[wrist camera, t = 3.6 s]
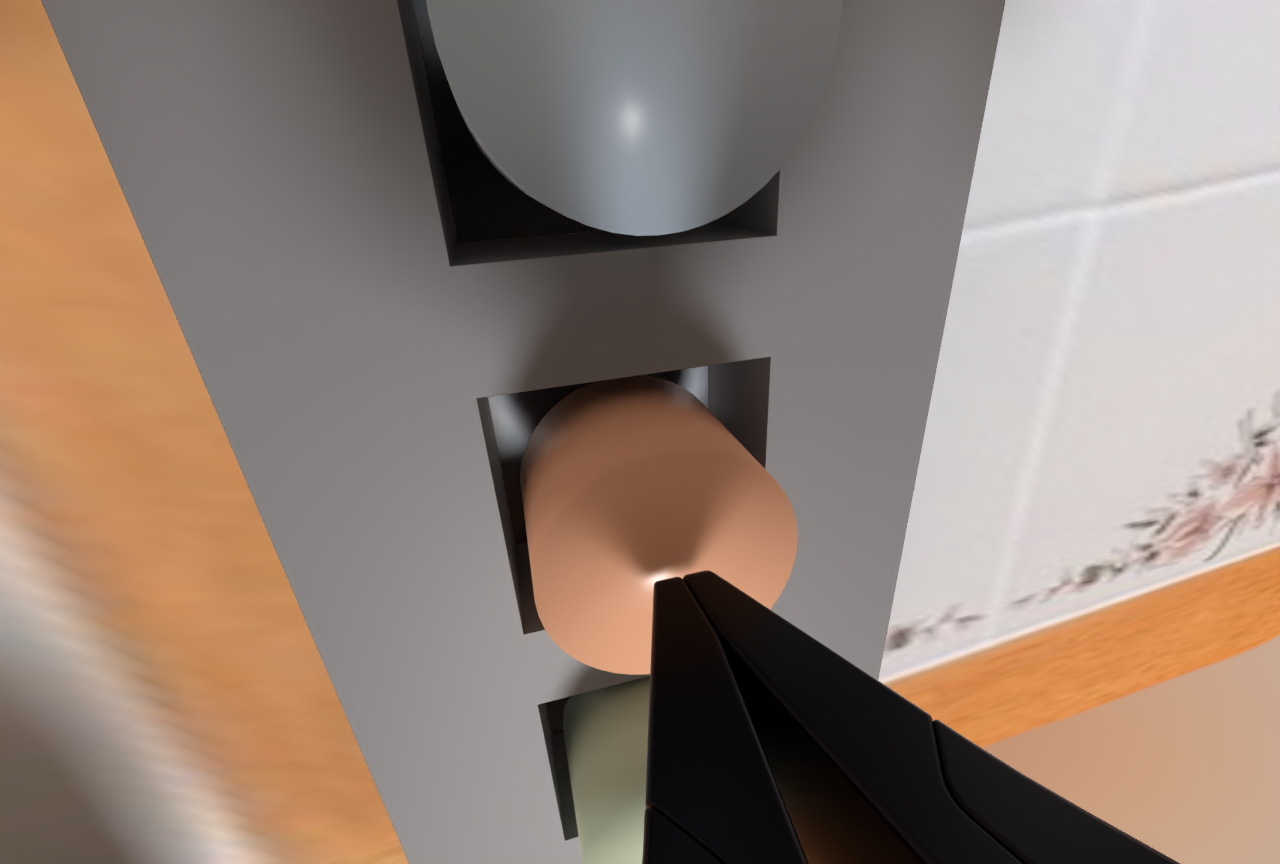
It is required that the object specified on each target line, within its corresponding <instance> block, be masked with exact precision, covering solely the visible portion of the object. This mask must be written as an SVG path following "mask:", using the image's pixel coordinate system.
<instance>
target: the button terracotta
mask: <svg viewBox="0 0 1280 864" xmlns="http://www.w3.org/2000/svg"><path fill="white" fill-rule="evenodd" d="M520 481H521V492H522V500H523V508H524V516H525V525H526V533H527V541H528V550H529V558H530V566H531V574H532V583H533V591H534V599H535V605H536V608H537V612H538V616H539V618H540V620H541V622H542V624H543V626H544V628H545V630H546V631H547V633H548V634H549V636H550V637H551V638H552V640H553V641H554V642H555V643H556V644H557V645H558V646H559V647H560V648H561V649H562V650H563V651H565V652H566V653H567V654H569V655H570V656H571V657H573V658H574V659H576V660H578V661H580V662H582V663H584V664H586V665H588V666H591V667H594V668H597V669H599V670H603V671H608V672H612V673H619V674H629V675H645V674H650V666H651V640H652V614H653V589H654V584H655V582H656V581H660V580H664V579H669V578H673V577H680V578H682V579H683V577H684V576H685V575H687V574H691V573H696V572H700V571H705V570H709V571H712V572H714V573H715V574H717V575H718V576H720V577H721V578H723V579H724V580H726V581H728V582H729V583H731V584H732V585H734V586H735V587H737V588H738V589H740V590H741V591H743V592H744V593H746V594H747V595H749V596H750V597H752V598H753V599H755V600H756V601H758V602H759V603H761V604H762V605H764V606H765V607H767V608H769V609H771V608H772V606H773V605H774V604H775V602H776V601H777V599H778V598H779V596H780V594H781V593H782V591H783V589H784V587H785V586H786V583H787V581H788V579H789V576H790V574H791V572H792V568H793V565H794V561H795V557H796V551H797V536H798V531H797V524H796V517H795V514H794V511H793V508H792V505H791V503H790V501H789V499H788V497H787V495H786V493H785V492H784V490H783V489H782V488H781V486H780V485H779V484H778V482H777V481H776V480H775V479H774V478H773V477H772V476H771V475H770V474H769V473H768V472H767V471H766V470H765V469H764V467H763V466H762V465H761V464H760V463H759V462H758V461H757V460H756V459H755V458H754V457H753V456H752V455H751V454H750V453H749V452H748V451H747V450H746V449H745V447H744V446H743V445H742V444H741V443H740V442H739V441H738V440H737V439H736V438H735V437H734V436H733V435H732V434H731V433H730V432H729V431H728V430H727V429H726V428H725V426H724V425H723V424H722V423H721V422H720V421H719V420H718V419H717V418H716V417H715V416H714V415H713V414H712V413H711V412H710V411H709V410H708V409H707V408H706V406H705V405H704V404H703V403H702V402H701V401H700V400H698V399H697V398H696V397H695V396H694V395H693V394H692V393H690V392H689V391H687V390H686V389H684V388H683V387H681V386H679V385H677V384H675V383H673V382H670V381H667V380H664V379H661V378H657V377H652V376H647V375H638V376H630V377H623V378H616V379H609V380H602V381H595V382H592V383H590V384H587V385H585V386H583V387H581V388H579V389H577V390H575V391H574V392H572V393H571V394H569V395H568V396H566V397H564V398H563V399H562V400H561V401H559V402H558V403H557V404H556V405H555V406H553V407H552V408H551V409H550V411H549V412H548V413H547V414H546V415H545V416H544V417H543V418H542V420H541V421H540V422H539V424H538V425H537V427H536V428H535V429H534V431H533V433H532V435H531V437H530V439H529V441H528V443H527V446H526V449H525V451H524V455H523V459H522V464H521V475H520Z"/></svg>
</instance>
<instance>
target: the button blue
mask: <svg viewBox="0 0 1280 864" xmlns="http://www.w3.org/2000/svg"><path fill="white" fill-rule="evenodd" d="M426 4H427V11H428V16H429V20H430V24H431V28H432V33H433V37H434V41H435V45H436V49H437V52H438V54H439V57H440V60H441V63H442V66H443V68H444V71H445V74H446V77H447V80H448V82H449V85H450V88H451V90H452V93H453V96H454V98H455V101H456V103H457V106H458V109H459V111H460V114H461V116H462V118H463V120H464V122H465V124H466V126H467V128H468V130H469V132H470V134H471V136H472V137H473V139H474V140H475V142H476V144H477V145H478V147H479V148H480V150H481V151H482V153H483V154H484V155H485V156H486V158H487V159H488V160H489V161H490V163H491V164H492V165H493V166H494V168H495V169H496V170H497V171H498V172H499V173H500V174H501V175H502V176H503V177H504V178H505V179H507V180H508V181H509V182H510V183H511V184H512V185H514V186H515V187H516V188H518V189H519V190H520V191H521V192H523V193H524V194H526V195H528V196H529V197H531V198H533V199H534V200H536V201H538V202H539V203H541V204H543V205H545V206H547V207H549V208H551V209H553V210H555V211H556V212H558V213H560V214H562V215H564V216H566V217H568V218H571V219H573V220H575V221H578V222H580V223H582V224H585V225H587V226H590V227H593V228H597V229H601V230H604V231H608V232H612V233H618V234H626V235H634V236H651V235H665V234H671V233H677V232H683V231H686V230H689V229H693V228H696V227H699V226H702V225H705V224H707V223H709V222H711V221H714V220H716V219H718V218H720V217H722V216H724V215H726V214H728V213H729V212H731V211H732V210H734V209H735V208H737V207H739V206H740V205H742V204H743V203H745V202H746V201H747V200H748V199H750V198H751V197H752V196H753V195H754V194H756V193H757V192H758V191H759V190H760V189H762V188H763V187H764V186H765V185H766V184H767V183H768V182H769V181H770V180H771V178H772V177H773V176H774V175H775V174H776V173H777V172H778V171H779V170H780V169H781V168H782V166H783V165H784V164H785V162H786V161H787V160H788V158H789V157H790V156H791V154H792V153H793V152H794V150H795V149H796V147H797V146H798V144H799V142H800V141H801V139H802V137H803V136H804V134H805V132H806V130H807V129H808V127H809V125H810V124H811V121H812V119H813V117H814V115H815V113H816V110H817V108H818V106H819V104H820V101H821V99H822V97H823V94H824V91H825V88H826V85H827V82H828V79H829V76H830V73H831V70H832V66H833V61H834V57H835V53H836V48H837V44H838V39H839V32H840V24H841V16H842V9H843V0H426Z"/></svg>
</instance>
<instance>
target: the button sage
mask: <svg viewBox="0 0 1280 864" xmlns="http://www.w3.org/2000/svg"><path fill="white" fill-rule="evenodd" d="M649 692H650V676H648V677H644V678H640V679H636V680H632V681H628V682H624V683H621V684H617V685H613V686H609V687H605V688H601V689H597V690H593V691H589V692H585V693H581V694H577V695H574V696H570V697H569V699H568V701H567V703H566V706H565V709H564V713H563V731H564V738H565V745H566V752H567V759H568V766H569V773H570V780H571V787H572V794H573V801H574V808H575V815H576V822H577V829H578V835H579V842H580V849H581V856H582V863H583V864H642V857H643V838H644V813H645V810H646V805H645V796H646V770H647V744H648V718H649Z"/></svg>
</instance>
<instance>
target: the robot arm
mask: <svg viewBox="0 0 1280 864" xmlns="http://www.w3.org/2000/svg"><path fill="white" fill-rule="evenodd" d="M645 805H646V810H645V813H644V838H643V857H642V864H1180V863H1178V862H1176V861H1174V860H1173V859H1171V858H1169V857H1167V856H1165V855H1164V854H1162V853H1160V852H1158V851H1157V850H1155V849H1153V848H1151V847H1149V846H1148V845H1146V844H1144V843H1142V842H1141V841H1139V840H1137V839H1135V838H1133V837H1132V836H1130V835H1128V834H1126V833H1125V832H1123V831H1121V830H1119V829H1117V828H1116V827H1114V826H1112V825H1110V824H1109V823H1107V822H1105V821H1103V820H1101V819H1100V818H1098V817H1096V816H1094V815H1092V814H1091V813H1089V812H1087V811H1085V810H1084V809H1082V808H1080V807H1078V806H1077V805H1075V804H1073V803H1072V802H1070V801H1068V800H1066V799H1065V798H1063V797H1061V796H1060V795H1058V794H1056V793H1054V792H1053V791H1051V790H1049V789H1047V788H1046V787H1044V786H1042V785H1041V784H1039V783H1037V782H1036V781H1034V780H1032V779H1030V778H1029V777H1027V776H1025V775H1023V774H1021V773H1020V772H1019V771H1017V770H1015V769H1014V768H1012V767H1011V766H1009V765H1007V764H1006V763H1004V762H1003V761H1001V760H1000V759H998V758H996V757H995V756H993V755H992V754H990V753H988V752H987V751H985V750H984V749H982V748H981V747H979V746H977V745H976V744H974V743H973V742H971V741H969V740H968V739H966V738H965V737H963V736H962V735H960V734H959V733H957V732H956V731H954V730H953V729H951V728H950V727H948V726H947V725H945V724H944V723H942V722H941V721H939V720H934V721H932V717H931V716H930V715H929V714H928V713H926V712H925V711H923V710H922V709H920V708H919V707H917V706H916V705H914V704H913V703H911V702H910V701H908V700H907V699H905V698H904V697H902V696H901V695H899V694H898V693H896V692H895V691H893V690H892V689H890V688H889V687H887V686H885V685H884V684H882V683H881V682H879V681H878V680H876V679H875V678H873V677H872V676H870V675H869V674H867V673H866V672H864V671H863V670H861V669H860V668H858V667H857V666H855V665H854V664H852V663H851V662H849V661H848V660H846V659H844V658H843V657H841V656H840V655H838V654H837V653H835V652H834V651H832V650H831V649H829V648H828V647H826V646H825V645H823V644H822V643H820V642H819V641H817V640H816V639H814V638H813V637H811V636H810V635H808V634H807V633H805V632H803V631H802V630H800V629H799V628H797V627H796V626H794V625H793V624H791V623H790V622H788V621H787V620H785V619H784V618H782V617H781V616H779V615H778V614H776V613H775V612H773V611H772V610H770V609H769V608H767V607H765V606H764V605H762V604H761V603H759V602H758V601H756V600H755V599H753V598H752V597H750V596H749V595H747V594H746V593H744V592H743V591H741V590H740V589H738V588H737V587H735V586H734V585H732V584H731V583H729V582H728V581H726V580H724V579H723V578H721V577H720V576H718V575H717V574H715V573H714V572H712V571H709V570H705V571H700V572H696V573H691V574H687V575H685V576H684V577H683V579H682V578H680V577H673V578H669V579H664V580H660V581H656V582H655V584H654V589H653V614H652V640H651V666H650V692H649V718H648V744H647V770H646V796H645Z"/></svg>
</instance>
